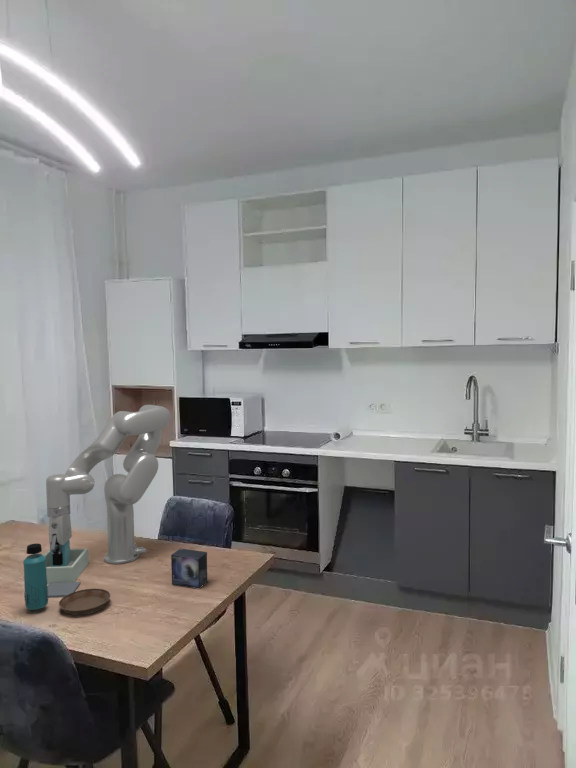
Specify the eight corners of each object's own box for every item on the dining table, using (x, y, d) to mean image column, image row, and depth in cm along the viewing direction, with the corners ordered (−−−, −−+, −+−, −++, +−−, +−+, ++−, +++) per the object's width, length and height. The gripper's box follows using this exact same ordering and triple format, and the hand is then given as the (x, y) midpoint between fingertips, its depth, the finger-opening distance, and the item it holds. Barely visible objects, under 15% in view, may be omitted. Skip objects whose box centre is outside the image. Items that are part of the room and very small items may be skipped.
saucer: (64, 623, 160) (64, 614, 160) (54, 604, 172) (54, 595, 172) (116, 610, 168) (116, 601, 167) (103, 592, 180) (103, 584, 180)
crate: (88, 563, 205) (88, 548, 205) (73, 583, 187) (72, 567, 187) (49, 564, 204) (49, 549, 204) (30, 584, 186) (29, 568, 186)
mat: (80, 583, 187) (80, 581, 187) (71, 596, 177) (71, 594, 177) (49, 584, 186) (49, 583, 186) (38, 597, 176) (38, 596, 176)
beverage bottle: (53, 606, 170) (51, 542, 169) (37, 616, 164) (34, 549, 163) (36, 603, 172) (34, 540, 171) (19, 613, 166) (17, 547, 165)
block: (70, 562, 198) (69, 540, 198) (65, 567, 193) (64, 544, 193) (55, 562, 198) (55, 540, 197) (50, 568, 193) (50, 545, 192)
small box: (170, 585, 185) (169, 554, 184) (180, 577, 191) (180, 547, 190) (198, 589, 181) (198, 558, 180) (208, 582, 187) (207, 551, 187)
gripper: (61, 517, 186) (63, 570, 187) (77, 503, 203) (78, 552, 204) (38, 518, 186) (40, 571, 187) (56, 504, 203) (57, 553, 204)
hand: (60, 561), depth 195 cm, fingers closed on block, 5 cm apart
